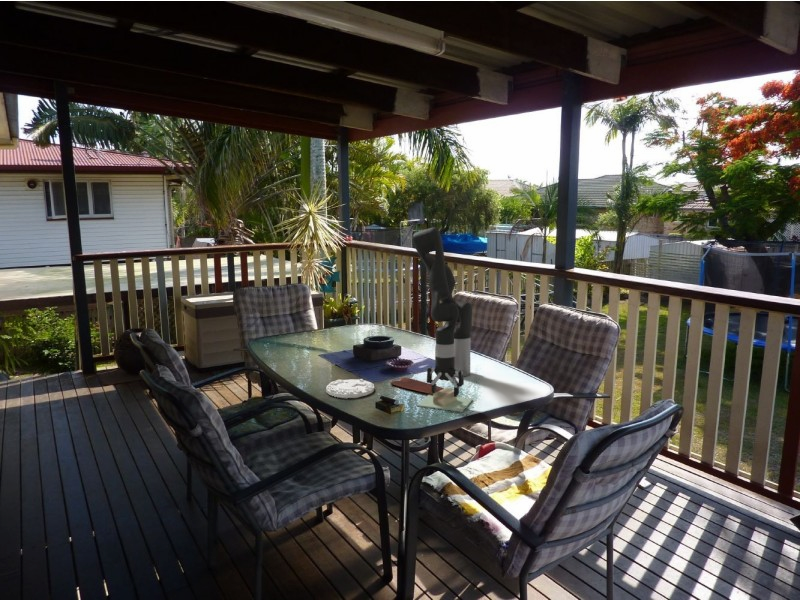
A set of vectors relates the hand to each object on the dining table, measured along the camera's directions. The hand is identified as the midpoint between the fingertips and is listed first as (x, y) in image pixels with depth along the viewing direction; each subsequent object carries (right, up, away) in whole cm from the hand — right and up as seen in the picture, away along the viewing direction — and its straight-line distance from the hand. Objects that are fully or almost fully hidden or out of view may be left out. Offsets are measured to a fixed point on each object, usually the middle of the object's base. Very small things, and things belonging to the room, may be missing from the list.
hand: (445, 394), depth 225 cm
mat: (0, -3, +1) cm, 3 cm away
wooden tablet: (-10, 0, +18) cm, 21 cm away
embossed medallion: (-38, -2, +18) cm, 42 cm away
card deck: (0, -3, +1) cm, 3 cm away
